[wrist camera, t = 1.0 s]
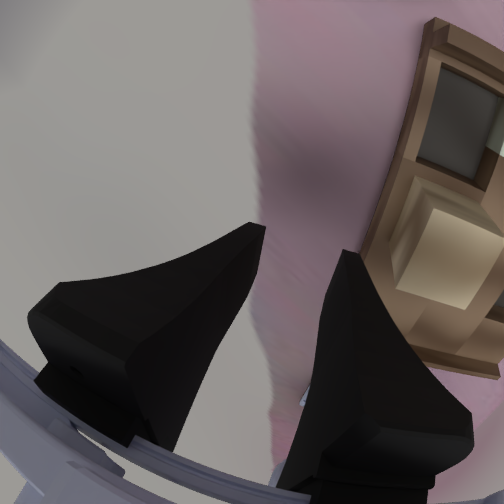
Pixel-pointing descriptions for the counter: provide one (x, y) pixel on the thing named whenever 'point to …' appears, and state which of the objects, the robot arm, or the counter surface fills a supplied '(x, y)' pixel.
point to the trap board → (456, 179)
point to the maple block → (443, 245)
